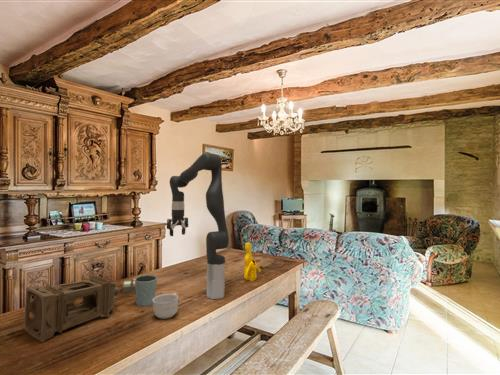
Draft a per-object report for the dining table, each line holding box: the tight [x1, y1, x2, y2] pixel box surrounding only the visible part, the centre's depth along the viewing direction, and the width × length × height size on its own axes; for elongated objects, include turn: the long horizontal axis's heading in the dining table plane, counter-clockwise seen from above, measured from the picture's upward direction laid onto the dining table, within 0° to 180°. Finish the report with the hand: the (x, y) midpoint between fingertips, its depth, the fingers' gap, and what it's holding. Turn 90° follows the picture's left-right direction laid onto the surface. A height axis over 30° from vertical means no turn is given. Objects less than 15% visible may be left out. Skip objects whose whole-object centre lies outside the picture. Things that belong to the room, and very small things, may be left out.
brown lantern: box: [23, 273, 121, 344], centre depth 125 cm, size 35×18×18 cm, turn 145°
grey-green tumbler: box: [134, 274, 158, 307], centre depth 144 cm, size 10×10×12 cm
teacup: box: [152, 292, 179, 320], centre depth 132 cm, size 14×11×8 cm
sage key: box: [124, 281, 131, 287], centre depth 159 cm, size 5×3×2 cm
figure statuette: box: [243, 242, 262, 282], centre depth 182 cm, size 18×8×22 cm, turn 147°
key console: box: [121, 277, 136, 294], centre depth 163 cm, size 12×14×4 cm
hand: (177, 235), depth 183 cm, fingers open, 8 cm apart
